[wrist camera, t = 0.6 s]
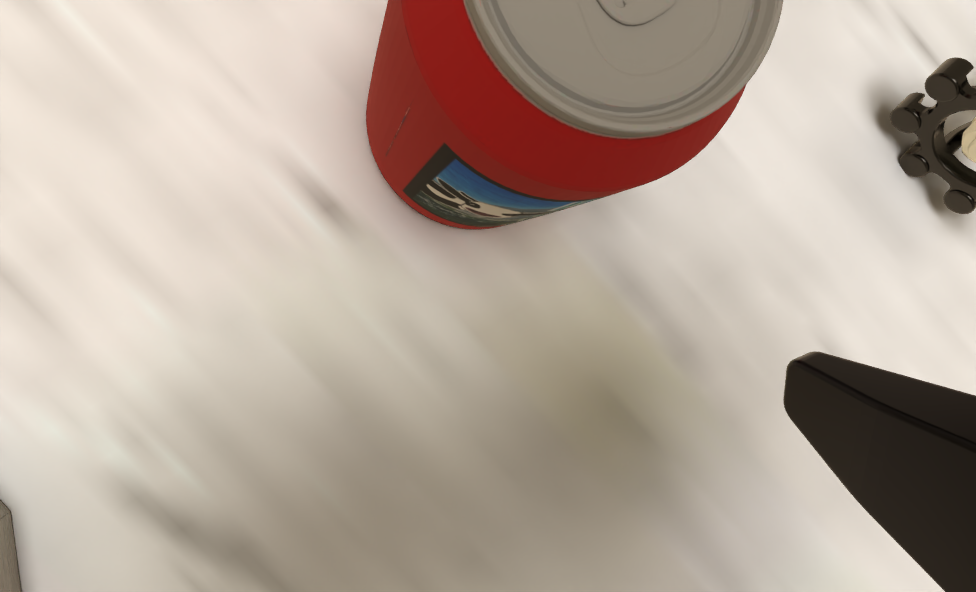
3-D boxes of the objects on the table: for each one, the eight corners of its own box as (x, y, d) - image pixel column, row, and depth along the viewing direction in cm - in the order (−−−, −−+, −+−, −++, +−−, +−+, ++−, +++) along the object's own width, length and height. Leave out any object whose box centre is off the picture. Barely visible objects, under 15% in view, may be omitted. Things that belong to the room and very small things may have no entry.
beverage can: (438, 272, 22) (572, 264, 10) (320, 88, 20) (313, -162, 9) (600, 165, 23) (889, 47, 11) (497, -13, 22) (695, -348, 10)
